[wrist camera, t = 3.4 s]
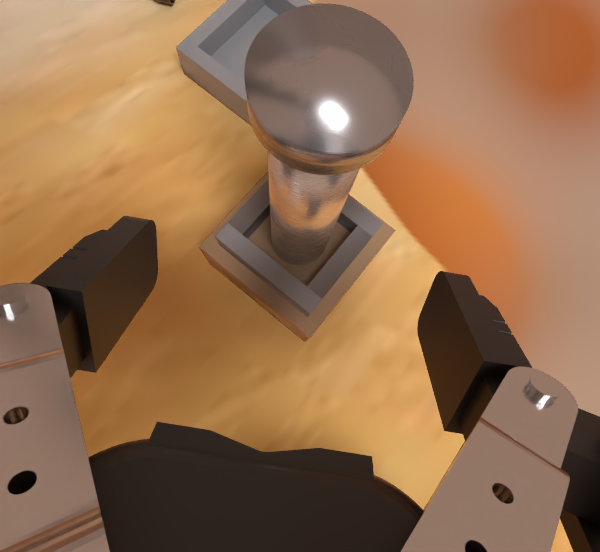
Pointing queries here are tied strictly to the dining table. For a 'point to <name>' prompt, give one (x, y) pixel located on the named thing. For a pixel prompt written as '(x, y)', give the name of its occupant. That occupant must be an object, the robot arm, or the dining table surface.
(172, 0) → the coffee press
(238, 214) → the block
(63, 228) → the dining table surface
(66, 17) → the dining table surface
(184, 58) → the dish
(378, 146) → the pin
